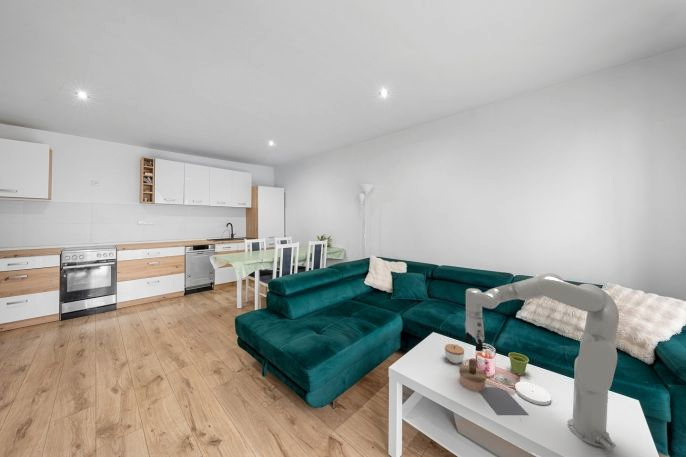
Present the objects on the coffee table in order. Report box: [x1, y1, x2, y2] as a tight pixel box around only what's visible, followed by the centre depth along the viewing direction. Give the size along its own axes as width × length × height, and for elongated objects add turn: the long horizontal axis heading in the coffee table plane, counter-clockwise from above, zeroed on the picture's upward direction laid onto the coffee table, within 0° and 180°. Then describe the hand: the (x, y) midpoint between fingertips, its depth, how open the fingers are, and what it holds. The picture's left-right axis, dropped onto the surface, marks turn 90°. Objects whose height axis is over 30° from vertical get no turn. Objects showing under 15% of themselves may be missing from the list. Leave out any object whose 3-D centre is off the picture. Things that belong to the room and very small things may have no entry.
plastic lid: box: [514, 381, 552, 406], centre depth 121 cm, size 14×14×2 cm
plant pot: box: [508, 352, 530, 376], centre depth 139 cm, size 9×9×9 cm
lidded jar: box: [444, 343, 465, 365], centre depth 150 cm, size 11×11×9 cm
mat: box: [478, 386, 530, 416], centre depth 117 cm, size 18×14×1 cm
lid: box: [459, 358, 487, 383], centre depth 129 cm, size 12×12×7 cm
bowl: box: [459, 373, 486, 392], centre depth 129 cm, size 11×11×5 cm
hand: (473, 345), depth 128 cm, fingers open, 9 cm apart
